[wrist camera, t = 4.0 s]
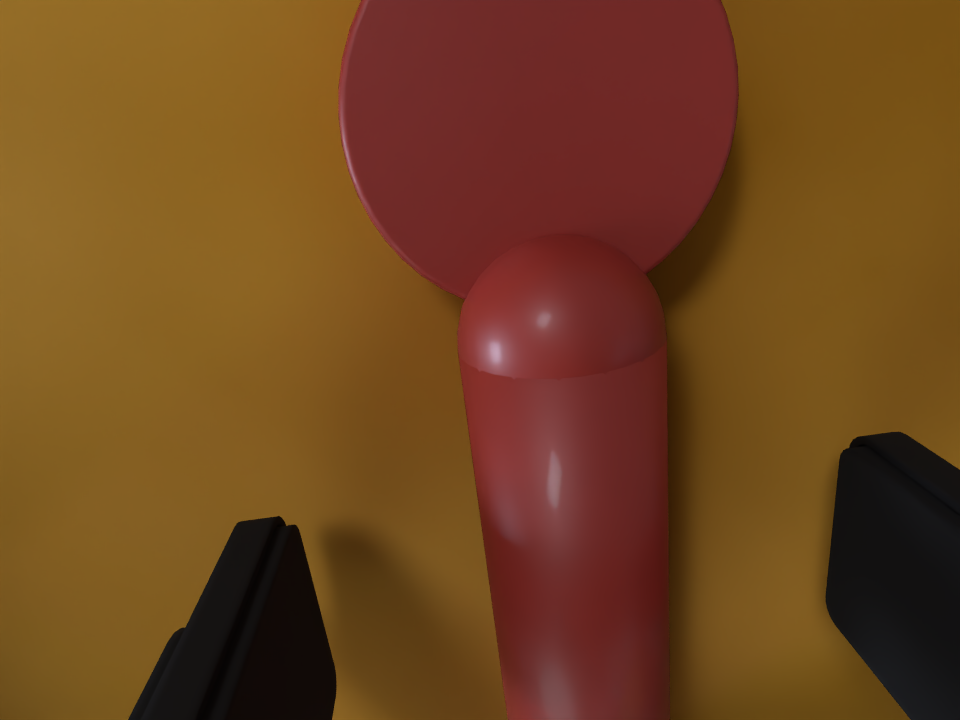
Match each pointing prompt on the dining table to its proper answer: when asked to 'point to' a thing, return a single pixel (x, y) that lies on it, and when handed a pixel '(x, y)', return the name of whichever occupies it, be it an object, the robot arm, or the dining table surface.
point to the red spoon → (553, 294)
